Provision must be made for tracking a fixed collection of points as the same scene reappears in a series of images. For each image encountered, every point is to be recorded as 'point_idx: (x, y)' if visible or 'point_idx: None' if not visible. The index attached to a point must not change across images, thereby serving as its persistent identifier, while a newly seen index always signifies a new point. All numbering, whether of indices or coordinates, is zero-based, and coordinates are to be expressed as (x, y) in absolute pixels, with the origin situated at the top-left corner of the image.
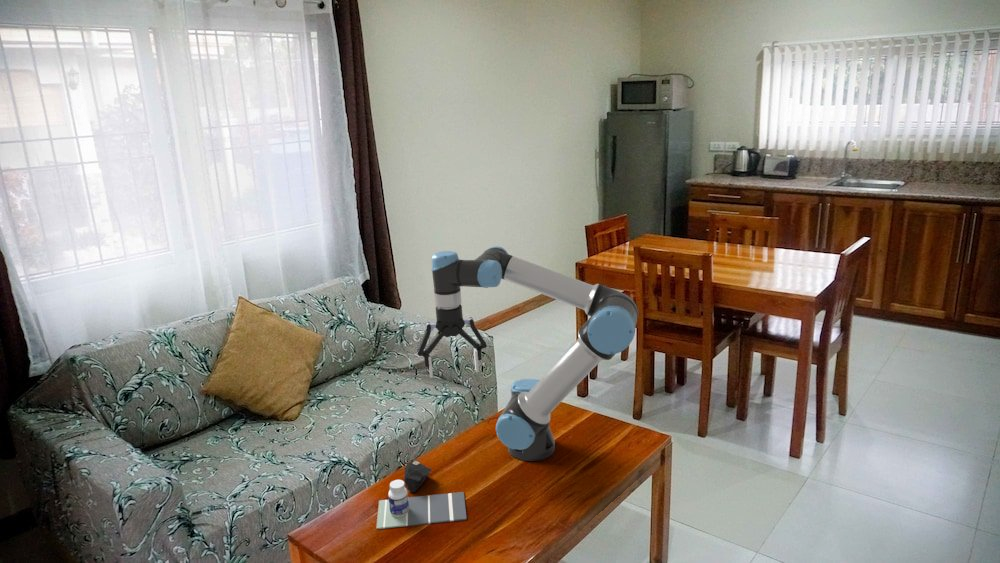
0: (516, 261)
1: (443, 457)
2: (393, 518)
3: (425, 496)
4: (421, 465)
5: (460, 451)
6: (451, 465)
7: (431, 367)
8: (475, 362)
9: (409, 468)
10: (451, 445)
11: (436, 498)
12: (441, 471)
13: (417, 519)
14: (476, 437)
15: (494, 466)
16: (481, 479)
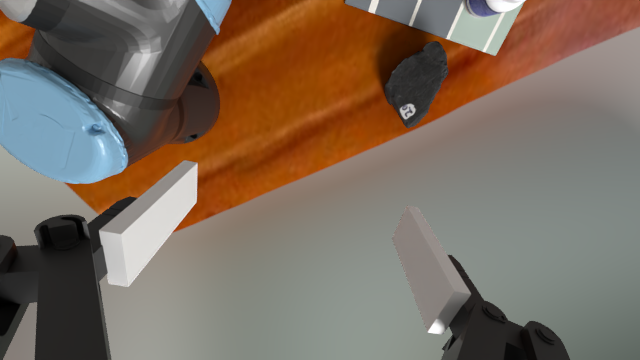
0: None
1: (336, 140)
2: None
3: (417, 24)
4: (401, 99)
5: (302, 145)
6: (332, 109)
7: (429, 239)
8: (172, 195)
9: (435, 85)
10: (311, 169)
11: (401, 6)
12: (355, 99)
13: None
14: (262, 174)
15: (259, 68)
16: (296, 35)
